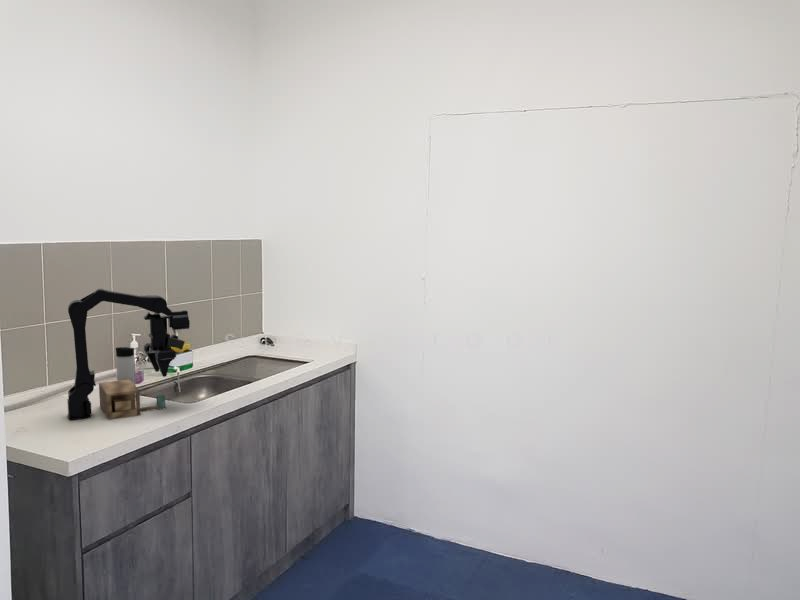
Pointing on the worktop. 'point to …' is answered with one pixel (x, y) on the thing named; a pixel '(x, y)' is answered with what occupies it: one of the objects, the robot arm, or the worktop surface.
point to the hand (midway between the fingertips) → (160, 374)
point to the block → (125, 404)
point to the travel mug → (125, 364)
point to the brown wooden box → (115, 391)
